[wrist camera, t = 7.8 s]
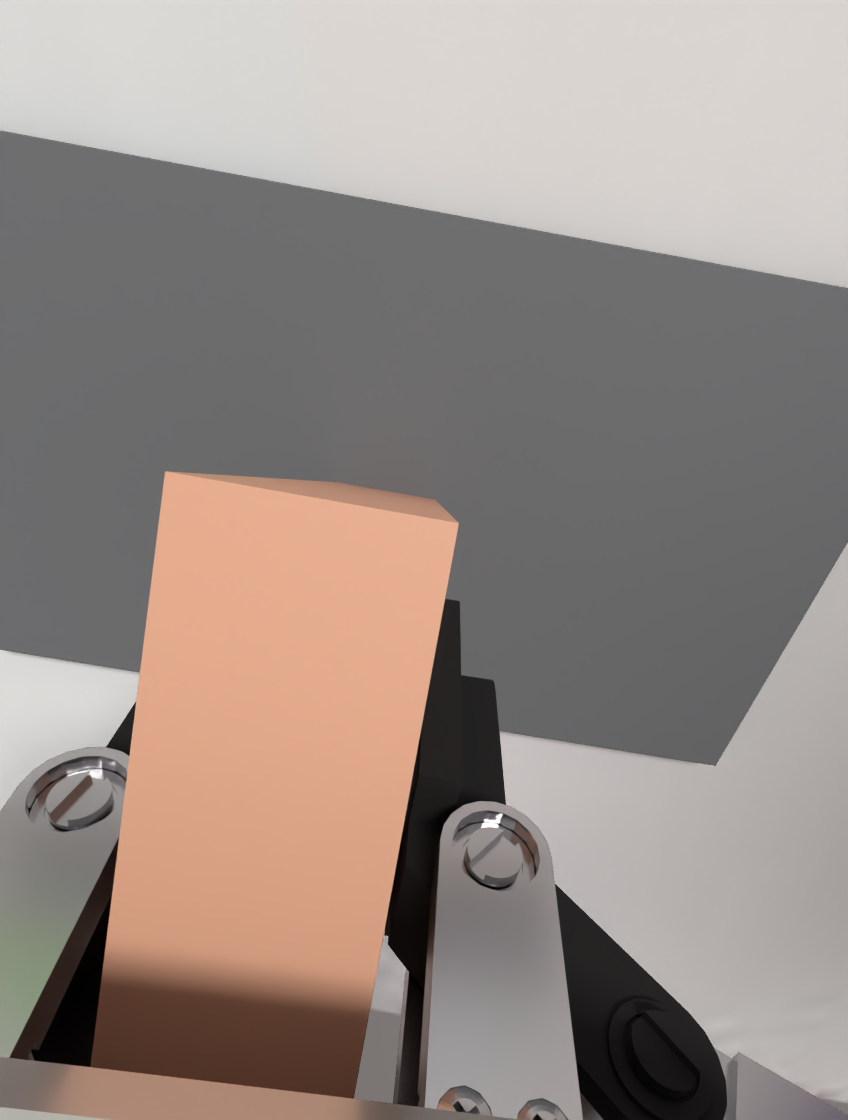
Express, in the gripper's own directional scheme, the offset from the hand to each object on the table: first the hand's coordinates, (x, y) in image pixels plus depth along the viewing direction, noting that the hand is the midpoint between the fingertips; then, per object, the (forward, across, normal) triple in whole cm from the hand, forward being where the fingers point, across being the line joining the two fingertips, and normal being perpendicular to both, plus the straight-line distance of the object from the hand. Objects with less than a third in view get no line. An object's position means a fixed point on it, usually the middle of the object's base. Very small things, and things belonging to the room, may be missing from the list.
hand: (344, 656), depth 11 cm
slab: (0, 0, -3) cm, 3 cm away
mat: (+4, 0, -1) cm, 5 cm away
